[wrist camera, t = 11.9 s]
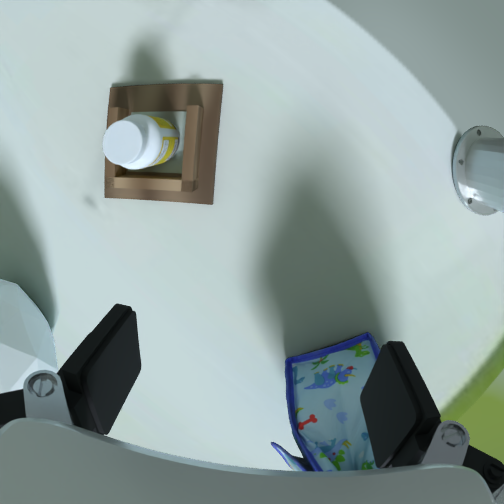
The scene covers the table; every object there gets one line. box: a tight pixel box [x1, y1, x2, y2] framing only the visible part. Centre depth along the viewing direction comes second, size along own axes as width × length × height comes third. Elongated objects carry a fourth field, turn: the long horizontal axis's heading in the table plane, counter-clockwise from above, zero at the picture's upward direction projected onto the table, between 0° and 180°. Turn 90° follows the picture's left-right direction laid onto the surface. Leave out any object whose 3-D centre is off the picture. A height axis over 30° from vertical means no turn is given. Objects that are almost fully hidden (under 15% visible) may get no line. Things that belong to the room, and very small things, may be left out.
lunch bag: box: [271, 332, 380, 472], centre depth 33 cm, size 22×17×26 cm
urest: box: [105, 84, 223, 205], centre depth 31 cm, size 14×14×4 cm
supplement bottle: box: [103, 114, 180, 169], centre depth 28 cm, size 5×5×10 cm
